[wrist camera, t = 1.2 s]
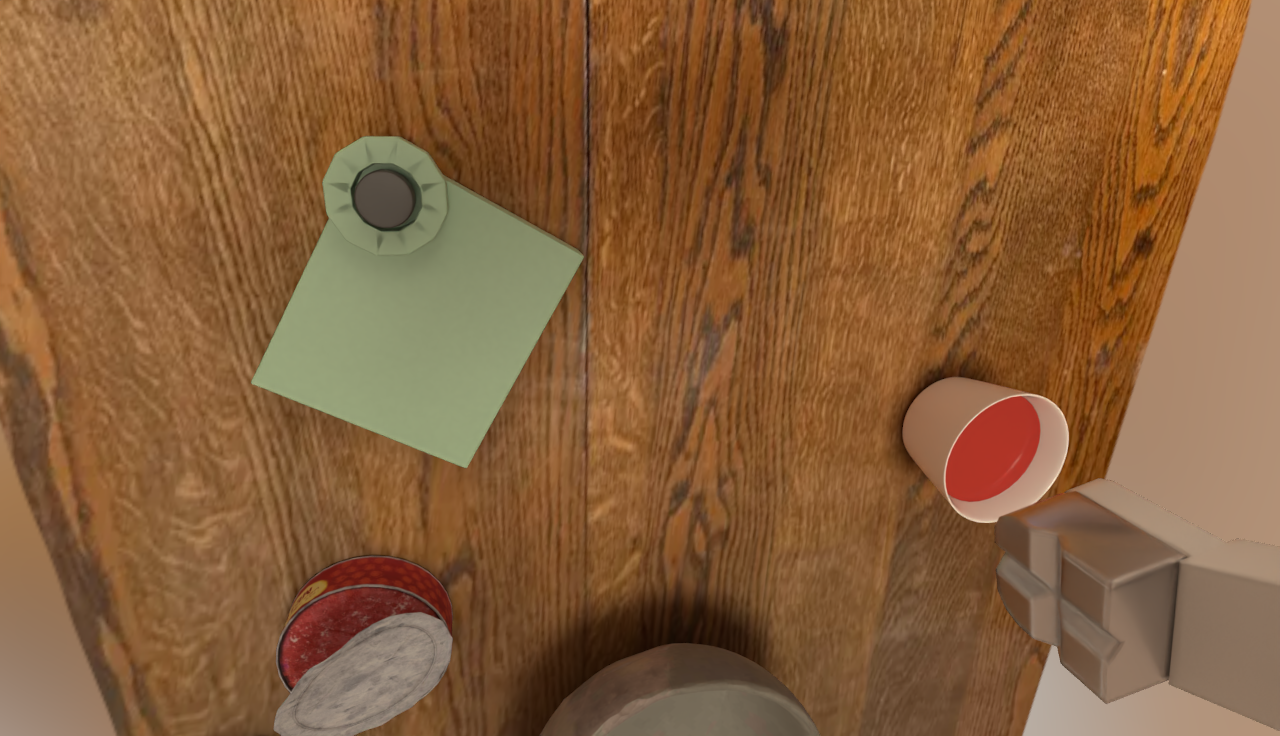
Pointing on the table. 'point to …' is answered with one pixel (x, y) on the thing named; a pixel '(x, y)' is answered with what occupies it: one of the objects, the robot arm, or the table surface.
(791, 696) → the bowl
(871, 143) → the table surface
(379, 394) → the scale
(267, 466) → the table surface
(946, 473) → the cup with red liquid
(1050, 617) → the robot arm
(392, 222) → the button
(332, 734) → the canned food
